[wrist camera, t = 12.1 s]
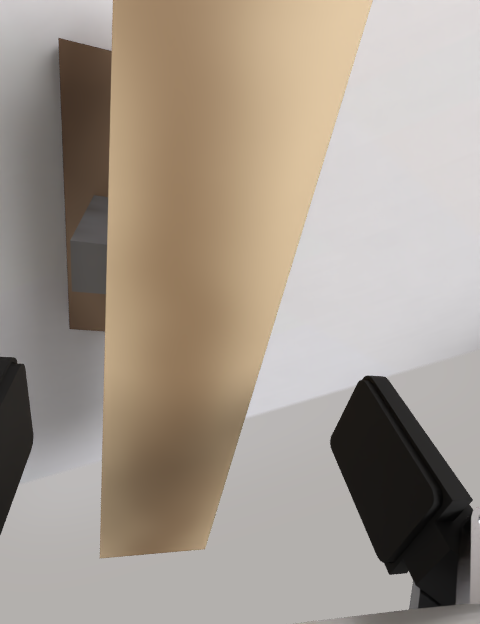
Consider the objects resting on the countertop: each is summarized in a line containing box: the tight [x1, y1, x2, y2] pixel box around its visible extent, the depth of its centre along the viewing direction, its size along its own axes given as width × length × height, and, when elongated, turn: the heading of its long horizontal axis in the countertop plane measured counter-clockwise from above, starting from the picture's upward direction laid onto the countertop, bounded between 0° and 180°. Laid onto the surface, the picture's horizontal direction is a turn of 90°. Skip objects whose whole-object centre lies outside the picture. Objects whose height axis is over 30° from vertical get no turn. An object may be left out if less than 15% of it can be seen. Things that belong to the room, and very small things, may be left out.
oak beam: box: [100, 0, 373, 558], centre depth 14 cm, size 5×24×6 cm, turn 168°
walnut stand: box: [59, 38, 112, 331], centre depth 20 cm, size 12×16×8 cm
